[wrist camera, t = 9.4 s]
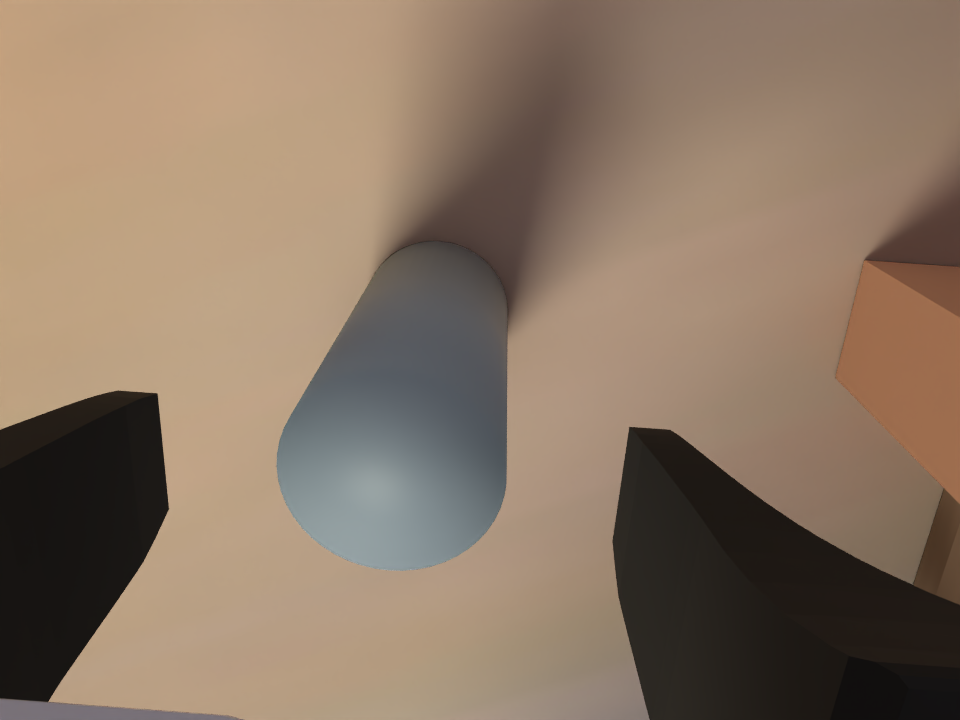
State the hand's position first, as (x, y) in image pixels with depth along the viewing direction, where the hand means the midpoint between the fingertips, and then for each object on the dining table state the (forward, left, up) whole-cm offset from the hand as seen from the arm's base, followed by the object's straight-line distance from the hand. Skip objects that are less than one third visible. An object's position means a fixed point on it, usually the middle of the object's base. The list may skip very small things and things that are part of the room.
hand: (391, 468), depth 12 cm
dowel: (0, 0, -8) cm, 8 cm away
